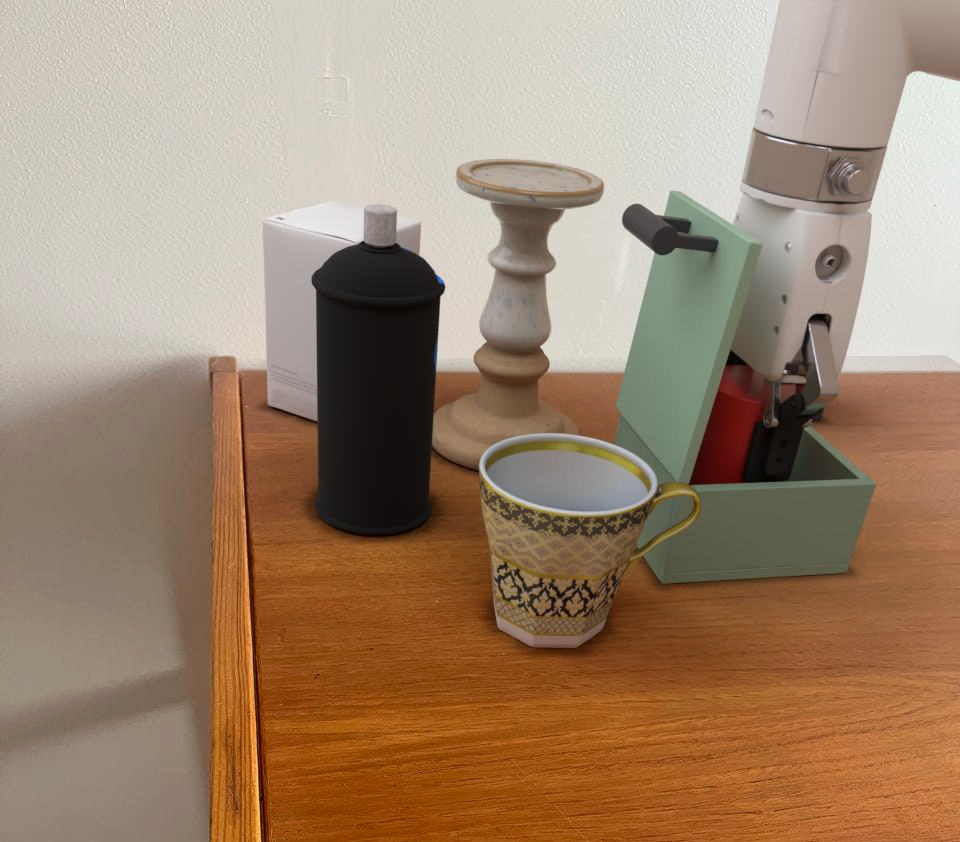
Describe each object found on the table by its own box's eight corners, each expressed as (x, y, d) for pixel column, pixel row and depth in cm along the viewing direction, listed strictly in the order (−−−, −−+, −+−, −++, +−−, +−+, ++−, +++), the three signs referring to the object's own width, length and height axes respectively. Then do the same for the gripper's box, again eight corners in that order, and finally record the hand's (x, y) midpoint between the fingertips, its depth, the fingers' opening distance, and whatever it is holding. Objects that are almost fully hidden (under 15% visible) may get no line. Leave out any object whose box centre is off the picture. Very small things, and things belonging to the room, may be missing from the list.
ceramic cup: (472, 666, 58) (487, 510, 53) (460, 573, 66) (472, 428, 61) (694, 670, 60) (732, 518, 54) (656, 578, 68) (686, 437, 62)
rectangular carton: (354, 437, 82) (356, 241, 73) (265, 407, 85) (257, 216, 76) (416, 402, 88) (425, 219, 80) (331, 376, 92) (330, 197, 83)
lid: (681, 191, 64) (608, 181, 63) (763, 243, 55) (680, 233, 54) (625, 408, 72) (559, 403, 71) (689, 484, 63) (615, 481, 62)
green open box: (770, 493, 80) (793, 410, 76) (846, 573, 70) (876, 483, 67) (604, 500, 76) (619, 413, 72) (661, 584, 67) (681, 491, 63)
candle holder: (571, 487, 78) (613, 205, 66) (411, 463, 79) (425, 181, 67) (585, 423, 88) (624, 168, 76) (443, 402, 89) (460, 148, 77)
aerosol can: (369, 550, 68) (376, 234, 56) (289, 503, 72) (281, 200, 61) (455, 512, 73) (478, 215, 61) (376, 470, 77) (383, 186, 66)
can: (745, 501, 76) (781, 364, 70) (786, 546, 71) (828, 403, 65) (662, 504, 75) (691, 365, 69) (698, 551, 70) (733, 404, 64)
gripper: (955, 211, 54) (855, 514, 64) (798, 143, 67) (737, 402, 77) (826, 207, 52) (744, 519, 62) (692, 138, 65) (643, 404, 76)
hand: (741, 452), depth 70 cm, fingers closed on can, 6 cm apart
